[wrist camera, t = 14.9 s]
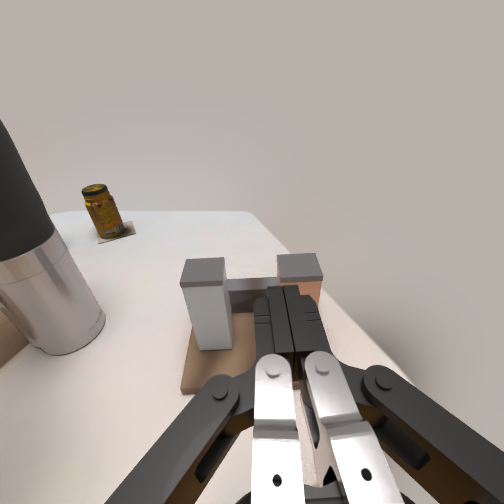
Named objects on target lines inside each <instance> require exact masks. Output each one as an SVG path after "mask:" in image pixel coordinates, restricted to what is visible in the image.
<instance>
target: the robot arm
mask: <svg viewBox="0 0 504 504" xmlns="http://www.w3.org/2000/svg"><path fill="white" fill-rule="evenodd" d="M253 309H254V326H255V343H256V359H255V362H254V364H253V365H252V367H251V368H250V369H249V370H248V371H246V372H244V373H242V374H240V375H238V376H235V377H233V378H232V377H231V376H229V375H225V374H219V375H215V376H213V377H211V378H210V379H209V380H208V381H207V382H206V383H205V384H204V385H203V386H202V388H201V389H200V390H199V391H198V392H197V394H196V395H195V396H194V397H193V398H192V400H191V401H190V402H189V403H188V404H187V405H186V407H185V408H184V409H183V410H182V411H181V413H180V414H179V415H178V416H177V417H176V419H175V420H174V421H173V422H172V423H171V425H170V426H169V427H168V428H167V429H166V431H165V432H164V433H163V434H162V435H161V436H160V438H159V439H158V440H157V441H156V442H155V444H154V445H153V446H152V447H151V448H150V450H149V451H148V452H147V453H146V454H145V456H144V457H143V458H142V459H141V460H140V461H139V463H138V464H137V465H136V466H135V467H134V469H133V470H132V471H131V472H130V473H129V475H128V476H127V477H126V478H125V479H124V481H123V482H122V483H121V484H120V485H119V487H118V488H117V489H116V490H115V491H114V492H113V494H112V495H111V496H110V497H109V498H108V500H107V501H106V502H105V503H104V504H195V502H196V501H197V499H198V498H199V496H200V495H201V493H202V492H203V490H204V488H205V487H206V485H207V484H208V482H209V481H210V479H211V478H212V476H213V474H214V473H215V471H216V470H217V468H218V467H219V465H220V464H221V462H222V461H223V459H224V457H225V456H226V454H227V453H228V451H229V450H230V448H231V447H232V445H233V443H234V442H235V440H236V439H237V437H238V436H239V434H240V433H241V431H243V430H245V429H247V428H249V427H252V426H254V429H253V460H252V491H251V492H249V493H248V494H246V495H245V496H243V497H242V498H241V499H240V500H239V501H238V502H237V503H236V504H415V503H414V502H413V501H411V500H410V499H409V498H408V497H407V496H405V495H404V494H403V493H401V492H400V491H399V489H398V487H397V484H396V482H395V480H394V477H393V475H392V473H391V470H390V468H389V466H388V463H387V461H386V459H385V456H384V454H383V452H382V450H384V451H385V452H386V453H387V454H388V455H389V456H390V457H391V458H392V459H393V460H394V461H395V462H396V463H397V464H398V465H400V467H402V468H403V469H404V470H405V471H406V472H407V473H408V474H409V475H410V476H411V477H412V478H413V479H414V480H415V481H416V482H418V483H419V484H420V485H421V486H422V487H423V488H424V489H425V490H426V491H427V492H428V493H429V494H430V495H431V496H432V497H433V498H434V499H435V500H436V501H437V502H439V503H440V504H504V452H503V451H501V450H500V449H499V448H497V447H496V446H495V445H493V444H492V443H491V442H489V441H488V440H486V439H485V438H484V437H482V436H481V435H479V434H478V433H477V432H476V431H474V430H473V429H471V428H470V427H469V426H467V425H466V424H465V423H463V422H462V421H461V420H459V419H458V418H456V417H455V416H454V415H452V414H451V413H449V412H448V411H447V410H446V409H444V408H443V407H441V406H440V405H439V404H437V403H436V402H435V401H433V400H432V399H431V398H429V397H428V396H426V395H425V394H424V393H422V392H421V391H420V390H418V389H417V388H416V387H414V386H413V385H412V384H410V383H409V382H407V381H406V380H405V379H403V378H402V377H401V376H399V375H398V374H397V373H395V372H394V371H392V370H391V369H389V368H387V367H385V366H381V365H373V366H370V367H368V368H367V369H366V370H363V369H359V368H355V367H351V366H348V365H346V364H343V363H342V362H340V361H339V360H338V359H337V358H336V357H335V356H334V355H333V353H332V352H331V349H330V346H329V343H328V340H327V336H326V333H325V330H324V327H323V324H322V321H321V317H320V314H319V311H318V307H317V304H316V302H315V301H314V300H313V298H312V297H311V296H310V295H300V291H299V287H298V285H297V284H296V285H282V286H267V297H262V298H257V299H256V301H255V304H254V306H253ZM0 310H1V311H2V312H3V313H4V314H5V315H6V316H7V317H8V318H9V320H10V321H11V322H12V323H13V324H14V325H15V326H16V327H17V328H18V330H19V331H20V332H21V333H22V334H23V335H24V336H25V337H26V338H27V339H28V341H29V342H30V343H31V344H32V345H33V346H34V347H40V348H42V349H43V350H44V352H46V353H48V354H52V355H62V354H67V353H70V352H73V351H76V350H78V349H80V348H82V347H83V346H85V345H86V344H88V343H89V342H91V341H92V340H93V339H94V338H95V337H96V336H97V335H98V334H99V333H100V331H101V330H102V328H103V326H104V323H105V315H104V313H103V311H102V310H101V308H100V306H99V304H98V302H97V301H96V299H95V297H94V295H93V293H92V292H91V290H90V288H89V286H88V285H87V283H86V281H85V279H84V278H83V276H82V274H81V272H80V271H79V269H78V267H77V265H76V264H75V262H74V260H73V258H72V257H71V255H70V253H69V251H68V250H67V248H66V246H65V244H64V243H63V241H62V239H61V237H60V236H59V234H58V232H57V230H56V229H55V227H54V225H53V224H52V222H51V220H50V218H49V216H48V214H47V211H46V209H45V206H44V204H43V201H42V199H41V197H40V195H39V193H38V191H37V190H36V188H35V186H34V184H33V182H32V180H31V178H30V176H29V174H28V172H27V170H26V168H25V166H24V164H23V162H22V160H21V157H20V155H19V153H18V151H17V149H16V147H15V145H14V143H13V141H12V139H11V137H10V135H9V133H8V131H7V130H6V128H5V126H4V125H3V123H2V122H1V120H0ZM292 379H293V382H296V381H299V386H300V391H301V393H300V401H301V405H302V409H303V413H304V417H305V421H306V425H307V429H308V433H309V437H310V441H311V445H312V450H313V456H314V466H315V471H316V476H317V480H318V484H319V488H316V487H312V486H309V485H305V484H303V479H302V469H301V458H300V447H299V437H298V430H297V427H296V421H295V410H294V399H293V388H292ZM361 474H362V475H361Z"/></svg>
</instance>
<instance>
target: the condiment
mask: <svg viewBox="0 0 504 504" xmlns="http://www.w3.org/2000/svg"><path fill="white" fill-rule="evenodd" d="M82 194H83V196H84V199H85V205H86V208H87V210H88V212H89V214H90V216H91V218H92V221H93V223H94V225H95V227H96V229H97V232H98V242H99V243H103V242H107V241H110V240H114V239H117V238H120V237H124V236H128V235H130V234H134V233H136V232H135V229H134V226H133V223H132V221H130V222H126V223H123V222H122V220H121V217H120V215H119V212H118V210H117V207H116V204H115V201H114V199H113V197H112V196H111V195H110V194H109V191H108V189H107V187H106V185H104V184H95V185H90V186H87V187H85V188H84V189H82Z"/></svg>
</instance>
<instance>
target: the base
mask: <svg viewBox="0 0 504 504" xmlns="http://www.w3.org/2000/svg"><path fill="white" fill-rule="evenodd" d="M227 285H228V292H229V299H230V307H231V314H232V321H233V339H232V349H219V350H199V347H198V343H197V340H196V336H195V333H194V329H193V326H192V330H191V336H190V341H189V346H188V351H187V356H186V361H185V366H184V372H183V377H182V382H181V387H180V389H181V392H182V394H197V392H198V391H199V390H200V389H201V388H202V386H203V385H204V384H205V383H206V382H207V381H208V380H209V379H210V378H211V377H213V376H215V375H219V374H225V375H229V376H231V377H232V378H233V377H235V376H238V375H240V374H242V373H244V372H246V371H248V370H249V369H250V368H251V367H252V365H253V364H254V362H255V359H256V343H255V326H254V309H253V306H254V304H255V301H256V299H257V298H262V297H267V286H277V277H266V278H246V279H227ZM292 388H293V389H300V386H299V381H296V382H293V379H292Z"/></svg>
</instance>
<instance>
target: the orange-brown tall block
mask: <svg viewBox="0 0 504 504" xmlns="http://www.w3.org/2000/svg"><path fill="white" fill-rule="evenodd" d="M322 280H323V274H322V271H321V269H320V265H319V263H318V260H317V257H316V254H315V253H305V254H285V255H277V286H282V285H296V284H297V285H298V287H299V291H300V295H310V296H311V297H312V298H313V300H314V301H315V302H316V304H317V307H318V303H319V296H320V290H321V282H322Z"/></svg>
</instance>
